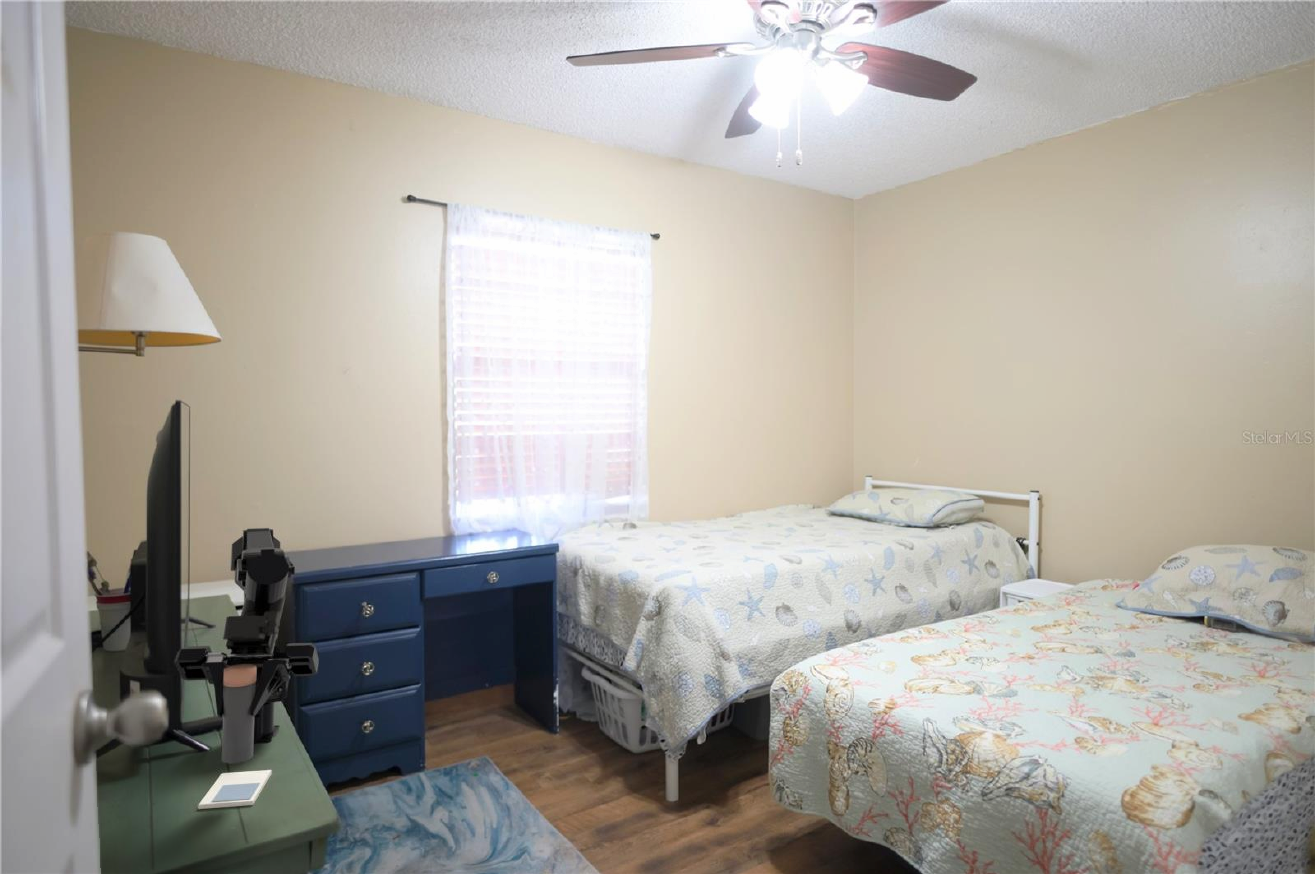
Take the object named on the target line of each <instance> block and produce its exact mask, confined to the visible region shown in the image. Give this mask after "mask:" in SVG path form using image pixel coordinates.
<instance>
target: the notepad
mask: <svg viewBox="0 0 1315 874" xmlns="http://www.w3.org/2000/svg"><path fill="white" fill-rule="evenodd" d="M272 773H273V770H272V769H267V770H266V769H265V770H262V769H261V770H249V771H238V772H237V771H235V772H222V773H221V774H220V775H219V777H218V778H217V779H216V781H215V782H214V784H213V785H212V786H211V787H210V789H209V790H208V791H207V793H206V794H205V796H204V797H203V798H202V799H201V801H200V802H199V804H198V805H197V806H198V807H197V808H198V810H203V809H204V810H205V809H216V808H217V809H218V808H230V807H241V806H242V807H243V806H244V807H245V806H253V805H254V804H255V803H256V800H257V799H258V797H259V796H260V794H261V792H262V791H263V789H264V787H265V785H266V784H267V782H268V781H269V779H270V777H271V775H272Z"/></svg>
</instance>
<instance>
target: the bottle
mask: <svg viewBox="0 0 1315 874" xmlns="http://www.w3.org/2000/svg"><path fill="white" fill-rule="evenodd" d="M256 674H257V666H256V665H253V664H239V665H233V666H230V667H227V668H225V669H224V678H223V685H224V703H223V716H222V735H221V736H222V740H221V743H222V744H221V762H222V763H225V764H239V763H243V762H246V761H248V760H250V759H252V758H254V757H253V756H254V744H255V743H254V716H252V715H251V708H252V703H253V700H254V697H255V682H256Z"/></svg>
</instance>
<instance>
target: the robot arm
mask: <svg viewBox="0 0 1315 874" xmlns="http://www.w3.org/2000/svg"><path fill="white" fill-rule="evenodd" d="M295 568H296V566H295V565H294V564H293V563H292V561H291V560H290V557H289V556H286V553H285V551H284V550H283V549H282V548H281V541H280V540H278V538H276V537H275V536H274V529H270V528H269V527H259V528H258V527H256V528H251V527H250V528H246V529H243V530H242V536H241V537H240V538H238V539H237V540H235V541H234V542H233V543H232V544H231V551H230V572H234V583H235V584H236V585H237V586H238V587H239V588H240V589H241V590H242V591H243V606H242V609H241V612H240V615H232V616H227V617H226V618H225V623H224V624H225V625H224V631H223V637H222V639H223V640H226V644H225V647H226V649H227V650H230V651H229V654H227V653H226V652H219V651H218V652H213V651H212V648H211V646H210V645H197V646H196V645H193V646H189V645H188V646H183V647H181V649H179V651H177V652H176V655H175V657H174V658H175V659H174V662H173V663H174V665H175V668H176V669H177V671H178V673H179V675H180V677H181V678H182V680H185V681H207V683H208V684H209V685H213V689H214V695H215V704H216V705H215V706H216V715H217V717H218V718H219V719H221V718H223V703H224V685H223V678H224V669H225V668H227V667H230V666H233V665H239V664H253V665H256V666H257V674H256V682H255V697H254V700H253V703H252V708H251V715H252V716H254V744H257V743H259V744H260V743H261V744H262V743H270V742H272V741H273V739H274V737H275V736H276V735H277V733H278V732H279V730H280V729H281V727H280V725H278V724H277V725H275V704H276V703H279V702H281V703H283V702H284V701H285V699H287V698H288V692H289V691H288V689H289V681H290V679H291V675H290V672H291V674H293V676H295V677H311V676H315V675H317V673H318V670H319V669H318V668H319V660H320V659H319V656H318V651H317V647H316V645H315V644H314V643H313V642H294V643H293V642H290V643H287V644H286V646H285V651H284V652H280V648H279V647H278V645H276V641H278V638H279V637H278V636H279V631H280V624H281V617H282V614H283V610H284V609H283V608H284V605H285V602H286V601H285V600H286V590H287V584H288V583H287V582H288V579H291V578H292V575H295V572H296V571H295Z"/></svg>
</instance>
